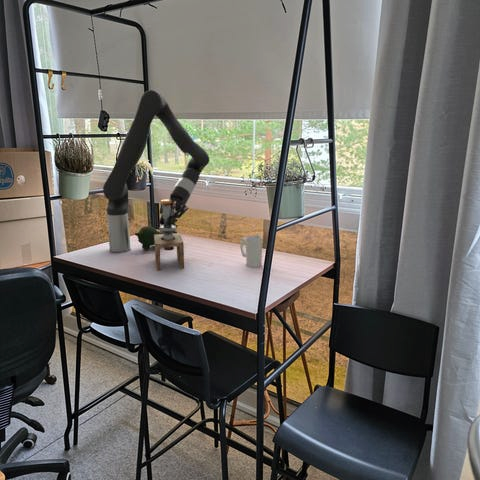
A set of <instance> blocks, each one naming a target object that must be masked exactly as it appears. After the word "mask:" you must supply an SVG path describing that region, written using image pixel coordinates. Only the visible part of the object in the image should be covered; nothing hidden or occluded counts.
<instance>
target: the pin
mask: <svg viewBox="0 0 480 480" xmlns="http://www.w3.org/2000/svg"><path fill="white" fill-rule="evenodd" d="M171 203H172V200H169V199H161V200H160V205H161V204H162V208H163V225H161V226H159V232H163V238H164V240H173V232H174V231H176V232H177V228H176V226H174V225H172V224H171V225H170V226H167V224H166V222H167V220H168V218H169V216H171ZM163 249H164V251H174V250H175V247H163Z"/></svg>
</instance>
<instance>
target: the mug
mask: <svg viewBox="0 0 480 480" xmlns="http://www.w3.org/2000/svg"><path fill="white" fill-rule="evenodd" d="M244 243H245V249H244ZM239 245H240V252H241V255H242V257H243V258H246V259H245V262H246V266H247V267H249V268H258V267H261V266H262V262H263V261H262V260H263V259H262V258H263V255H262V254H263V236H262V235H258V234H250V235H249V234H248V235H247V236H245V237H242V239H241V241H240V243H239Z"/></svg>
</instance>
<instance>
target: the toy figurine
mask: <svg viewBox="0 0 480 480" xmlns="http://www.w3.org/2000/svg"><path fill="white" fill-rule="evenodd" d="M177 222H178V218H176V219H174V221H173V223H172V225H174V226H176V229H177V228H178V226H179V225H177V224H176V223H177ZM173 233H178V232H177V230H176V231H174V232H173ZM155 234H163V232H160V230H157V229H156V228H155V227H154V226H150V225H145V226H143V227H141V228H140V229H139V231H138V232H134V235H135V236H136V237H137V241H138V242H139V243H140V244H141V249H143V250H145V251H149V250H150V249H151V247H153V246H155V242H154V235H155Z"/></svg>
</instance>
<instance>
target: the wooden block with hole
mask: <svg viewBox="0 0 480 480" xmlns="http://www.w3.org/2000/svg"><path fill="white" fill-rule="evenodd" d="M154 242H155V245H154V253H155V254H154V255H155V258H154V259H155V266H156V271H162V266H161V263H162V262H161V248H162V249H164V247H174V248H176V259H177V262H178V264H179V269H185V249H184V247H185V246H184V241H183V238H182V236H181V233H180V232H177V233H173V240H164V238H163V234H155V235H154Z"/></svg>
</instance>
